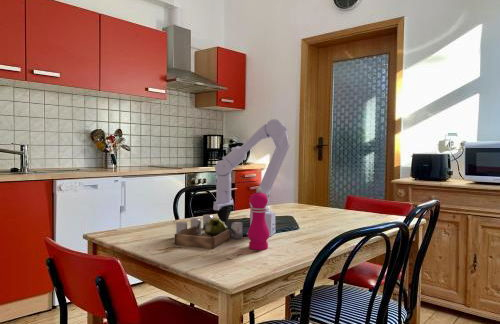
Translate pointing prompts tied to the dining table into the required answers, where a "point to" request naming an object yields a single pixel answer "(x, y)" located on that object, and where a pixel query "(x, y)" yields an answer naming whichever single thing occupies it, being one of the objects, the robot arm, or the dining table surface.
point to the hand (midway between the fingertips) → (223, 225)
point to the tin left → (237, 230)
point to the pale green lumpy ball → (215, 226)
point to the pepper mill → (258, 222)
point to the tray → (200, 239)
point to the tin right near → (196, 224)
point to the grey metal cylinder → (205, 218)
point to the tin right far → (181, 226)
